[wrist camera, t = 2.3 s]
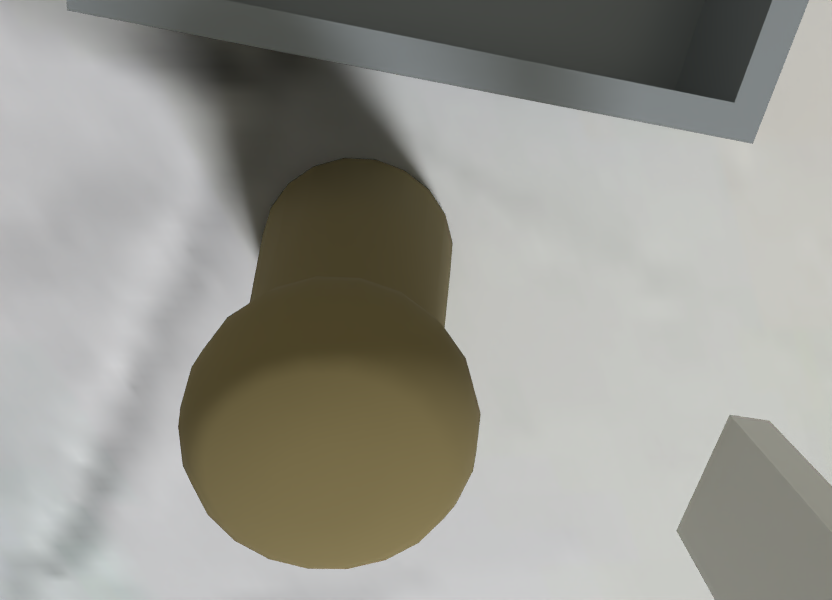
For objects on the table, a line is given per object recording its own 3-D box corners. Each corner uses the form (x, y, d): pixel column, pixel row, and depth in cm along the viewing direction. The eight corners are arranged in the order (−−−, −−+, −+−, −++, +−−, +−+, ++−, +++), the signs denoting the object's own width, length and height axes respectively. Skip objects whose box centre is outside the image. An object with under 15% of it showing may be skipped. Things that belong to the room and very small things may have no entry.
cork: (459, 327, 21) (526, 607, 10) (281, 347, 21) (178, 645, 10) (444, 146, 18) (513, 283, 8) (243, 169, 18) (61, 333, 8)
